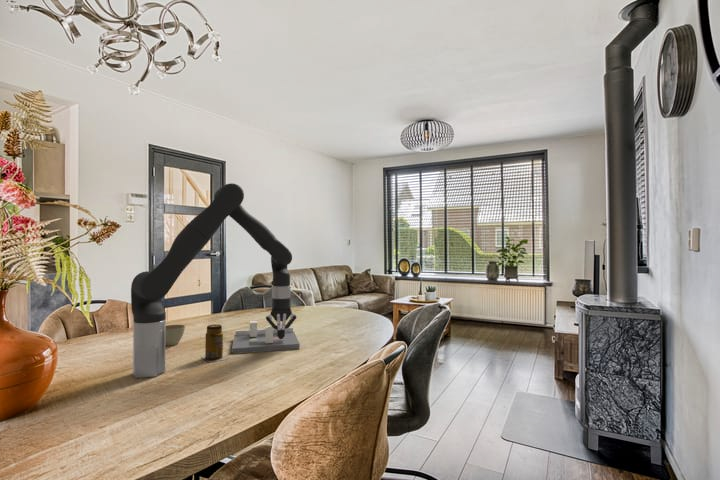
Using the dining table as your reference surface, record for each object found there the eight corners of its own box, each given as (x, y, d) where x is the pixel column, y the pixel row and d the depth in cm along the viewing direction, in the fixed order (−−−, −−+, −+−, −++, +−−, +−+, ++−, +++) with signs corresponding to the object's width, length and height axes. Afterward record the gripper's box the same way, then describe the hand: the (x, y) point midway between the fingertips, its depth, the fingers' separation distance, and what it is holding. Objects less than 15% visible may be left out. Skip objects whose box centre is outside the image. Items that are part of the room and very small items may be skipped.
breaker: (256, 336, 161) (257, 322, 161) (249, 337, 160) (249, 323, 160) (256, 334, 165) (256, 320, 165) (249, 334, 164) (249, 321, 164)
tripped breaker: (273, 342, 151) (273, 328, 151) (265, 343, 151) (265, 328, 151) (272, 340, 155) (272, 325, 155) (265, 340, 154) (265, 326, 154)
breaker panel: (299, 348, 151) (299, 338, 151) (231, 353, 144) (232, 343, 144) (293, 335, 173) (293, 326, 173) (234, 339, 165) (234, 330, 165)
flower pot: (177, 347, 152) (177, 329, 152) (153, 347, 152) (153, 329, 152) (189, 340, 162) (189, 324, 162) (166, 340, 162) (166, 324, 162)
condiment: (220, 353, 144) (220, 322, 144) (228, 359, 138) (228, 326, 138) (200, 357, 140) (200, 325, 140) (207, 363, 133) (208, 329, 133)
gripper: (265, 298, 149) (264, 342, 149) (298, 297, 152) (298, 339, 152) (264, 295, 156) (264, 337, 156) (296, 294, 160) (296, 335, 160)
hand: (281, 338), depth 154 cm, fingers closed
